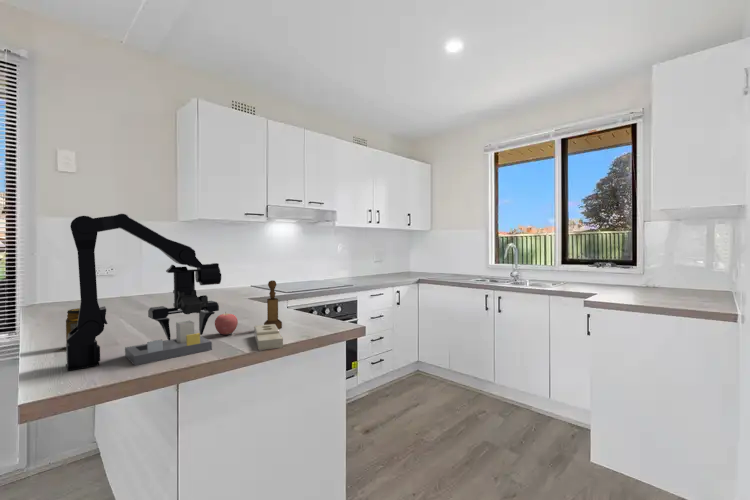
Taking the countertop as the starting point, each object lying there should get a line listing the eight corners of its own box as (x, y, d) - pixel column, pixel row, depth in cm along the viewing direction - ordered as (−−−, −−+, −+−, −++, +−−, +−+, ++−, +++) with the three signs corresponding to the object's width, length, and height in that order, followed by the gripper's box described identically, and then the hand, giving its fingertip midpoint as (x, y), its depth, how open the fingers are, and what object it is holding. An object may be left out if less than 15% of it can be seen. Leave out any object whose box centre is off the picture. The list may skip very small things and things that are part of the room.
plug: (180, 351, 113) (180, 324, 112) (176, 348, 115) (176, 322, 115) (194, 348, 115) (194, 322, 115) (190, 345, 118) (189, 320, 118)
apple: (211, 334, 132) (210, 312, 132) (230, 330, 138) (230, 309, 138) (221, 338, 127) (220, 314, 127) (241, 333, 133) (240, 311, 133)
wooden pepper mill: (279, 330, 137) (278, 281, 137) (261, 330, 138) (260, 281, 137) (283, 326, 144) (283, 279, 144) (267, 326, 144) (266, 279, 144)
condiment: (97, 343, 122) (96, 307, 122) (78, 351, 114) (76, 312, 113) (74, 344, 122) (73, 307, 122) (53, 352, 113) (52, 312, 113)
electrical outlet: (258, 337, 112) (254, 325, 129) (258, 351, 113) (254, 337, 129) (282, 335, 115) (275, 323, 132) (283, 348, 115) (275, 335, 132)
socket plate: (134, 365, 100) (134, 344, 99) (125, 355, 108) (124, 337, 108) (211, 349, 113) (211, 331, 113) (197, 342, 122) (197, 325, 122)
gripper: (157, 292, 103) (158, 348, 103) (225, 286, 116) (226, 336, 116) (147, 288, 111) (148, 341, 111) (211, 283, 124) (212, 330, 124)
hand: (185, 337), depth 115 cm, fingers open, 9 cm apart
